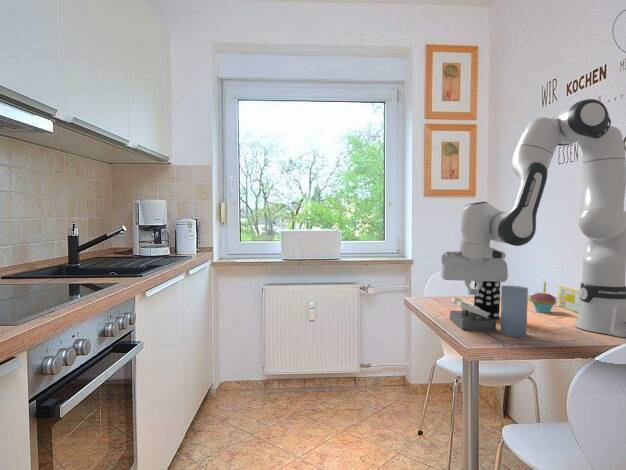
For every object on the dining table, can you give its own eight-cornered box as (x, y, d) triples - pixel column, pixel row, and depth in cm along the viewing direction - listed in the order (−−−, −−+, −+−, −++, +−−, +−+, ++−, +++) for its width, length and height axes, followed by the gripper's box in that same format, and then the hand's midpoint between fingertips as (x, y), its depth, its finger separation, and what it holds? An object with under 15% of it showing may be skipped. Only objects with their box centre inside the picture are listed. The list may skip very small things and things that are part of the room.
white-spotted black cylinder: (497, 315, 147) (498, 259, 147) (501, 320, 139) (502, 262, 139) (472, 313, 149) (473, 259, 149) (475, 318, 141) (476, 261, 141)
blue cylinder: (520, 331, 126) (521, 285, 125) (530, 337, 119) (532, 289, 118) (496, 330, 126) (498, 285, 126) (506, 337, 119) (507, 289, 119)
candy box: (588, 315, 150) (589, 292, 150) (582, 315, 150) (583, 292, 150) (561, 306, 166) (562, 286, 166) (556, 306, 166) (557, 285, 166)
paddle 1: (475, 310, 138) (477, 305, 138) (479, 312, 134) (481, 308, 134) (450, 300, 138) (452, 296, 138) (453, 302, 135) (455, 298, 135)
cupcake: (559, 314, 150) (560, 282, 150) (534, 313, 151) (535, 281, 151) (549, 309, 158) (550, 278, 158) (526, 308, 160) (527, 278, 159)
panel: (479, 320, 140) (480, 306, 139) (495, 330, 126) (496, 316, 125) (449, 319, 140) (450, 305, 140) (462, 330, 126) (462, 315, 126)
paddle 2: (483, 315, 131) (485, 310, 131) (487, 317, 127) (489, 312, 127) (456, 304, 131) (458, 300, 131) (459, 307, 128) (461, 302, 128)
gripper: (444, 252, 130) (443, 295, 130) (510, 253, 128) (509, 297, 129) (439, 250, 136) (438, 292, 136) (502, 252, 135) (501, 293, 135)
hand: (473, 294), depth 133 cm, fingers closed
